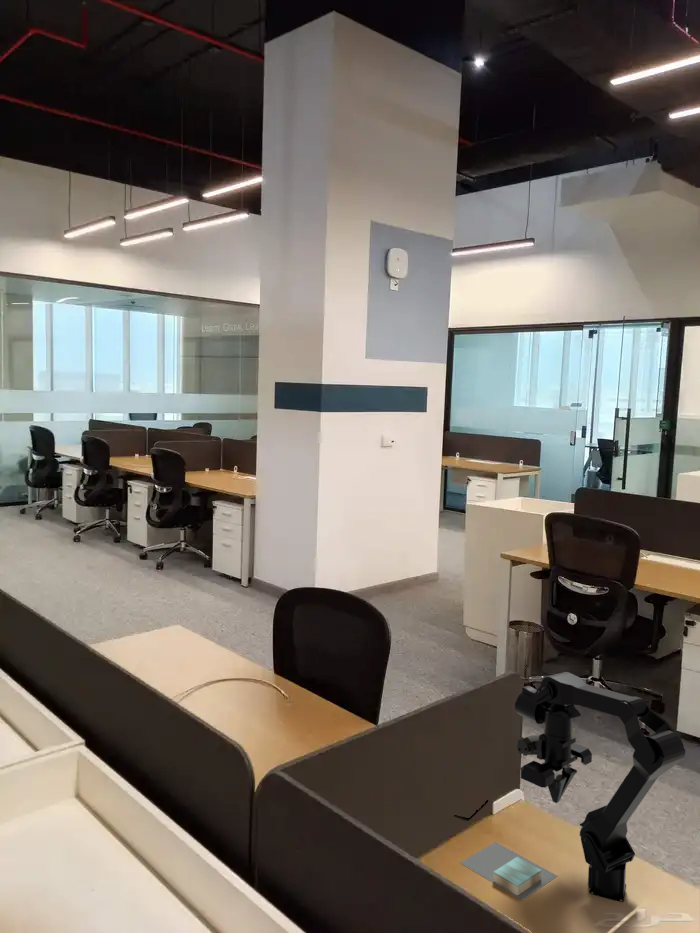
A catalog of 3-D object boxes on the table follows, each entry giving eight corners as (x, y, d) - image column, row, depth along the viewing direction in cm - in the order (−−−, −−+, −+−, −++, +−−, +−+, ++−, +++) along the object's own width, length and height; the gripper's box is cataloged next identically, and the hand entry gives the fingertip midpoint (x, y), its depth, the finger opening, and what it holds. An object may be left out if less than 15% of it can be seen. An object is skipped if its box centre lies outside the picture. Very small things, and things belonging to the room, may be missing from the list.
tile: (541, 869, 154) (517, 885, 149) (541, 879, 154) (517, 895, 149) (517, 856, 158) (493, 871, 153) (517, 865, 159) (493, 881, 153)
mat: (557, 878, 155) (557, 875, 155) (522, 903, 147) (522, 900, 147) (495, 844, 167) (495, 841, 167) (459, 865, 159) (459, 862, 159)
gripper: (550, 709, 174) (548, 774, 175) (500, 731, 161) (498, 801, 163) (594, 724, 165) (591, 793, 166) (544, 749, 153) (542, 823, 154)
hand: (555, 801), depth 163 cm, fingers closed
